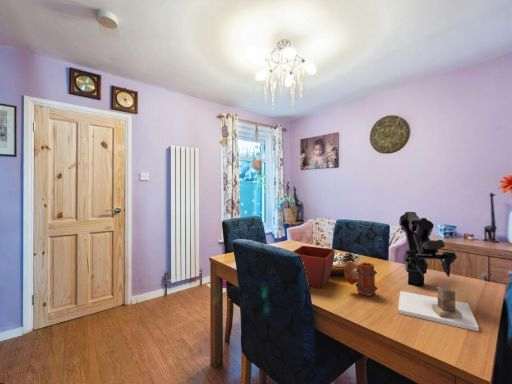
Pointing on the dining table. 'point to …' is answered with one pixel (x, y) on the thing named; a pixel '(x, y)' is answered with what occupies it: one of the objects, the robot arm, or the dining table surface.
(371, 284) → the mug
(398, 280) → the dining table surface
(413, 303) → the board
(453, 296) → the brown pedestal block
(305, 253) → the plant pot
